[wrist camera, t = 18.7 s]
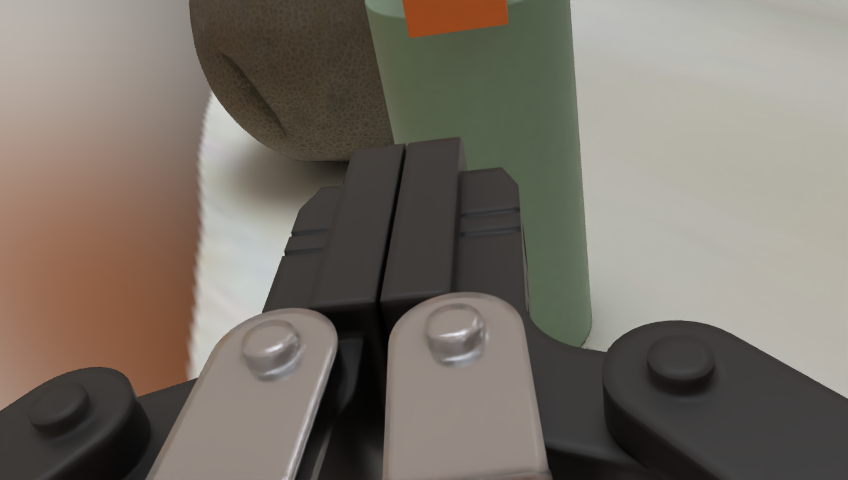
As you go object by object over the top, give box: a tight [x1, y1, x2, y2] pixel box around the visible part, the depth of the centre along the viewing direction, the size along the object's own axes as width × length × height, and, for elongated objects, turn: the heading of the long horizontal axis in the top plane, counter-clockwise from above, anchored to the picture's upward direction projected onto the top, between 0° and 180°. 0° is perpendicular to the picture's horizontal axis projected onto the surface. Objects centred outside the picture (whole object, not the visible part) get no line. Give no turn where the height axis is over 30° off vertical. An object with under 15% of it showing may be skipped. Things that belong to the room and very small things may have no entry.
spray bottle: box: [365, 0, 592, 348], centre depth 27 cm, size 8×6×20 cm
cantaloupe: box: [189, 0, 394, 162], centre depth 45 cm, size 14×14×15 cm
